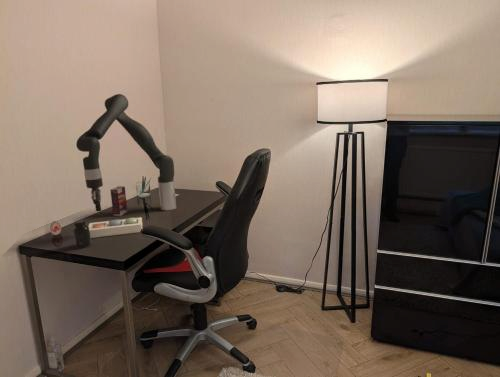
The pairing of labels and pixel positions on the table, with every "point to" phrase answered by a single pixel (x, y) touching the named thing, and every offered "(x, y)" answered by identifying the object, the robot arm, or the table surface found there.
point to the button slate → (114, 222)
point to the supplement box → (119, 200)
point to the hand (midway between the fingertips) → (98, 210)
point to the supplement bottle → (81, 234)
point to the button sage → (131, 221)
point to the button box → (114, 228)
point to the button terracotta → (98, 226)
